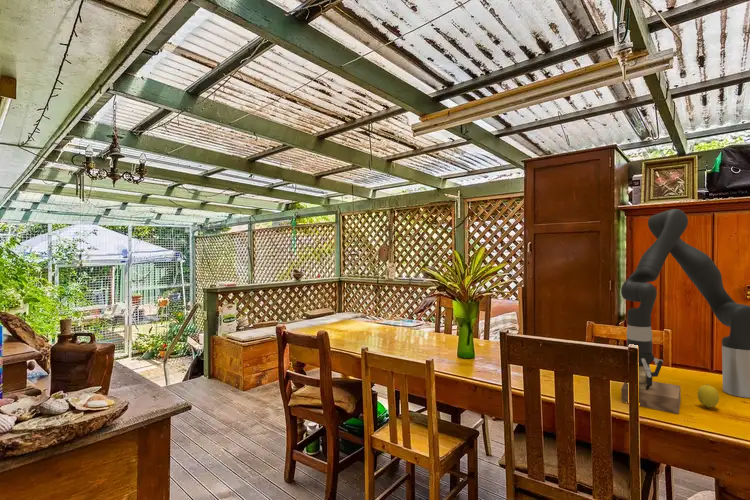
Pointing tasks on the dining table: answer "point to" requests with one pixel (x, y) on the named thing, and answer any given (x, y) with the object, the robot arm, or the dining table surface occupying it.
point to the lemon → (708, 396)
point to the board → (657, 396)
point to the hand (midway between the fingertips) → (640, 385)
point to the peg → (642, 378)
